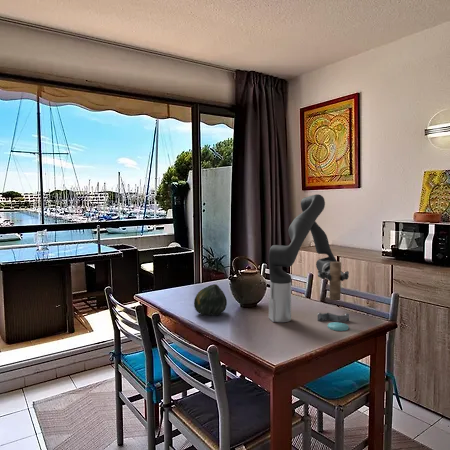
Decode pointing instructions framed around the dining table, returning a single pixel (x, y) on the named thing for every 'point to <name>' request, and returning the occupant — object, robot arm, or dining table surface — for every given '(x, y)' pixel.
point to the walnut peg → (335, 280)
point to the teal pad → (338, 326)
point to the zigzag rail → (333, 317)
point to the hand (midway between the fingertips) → (336, 278)
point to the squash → (210, 301)
